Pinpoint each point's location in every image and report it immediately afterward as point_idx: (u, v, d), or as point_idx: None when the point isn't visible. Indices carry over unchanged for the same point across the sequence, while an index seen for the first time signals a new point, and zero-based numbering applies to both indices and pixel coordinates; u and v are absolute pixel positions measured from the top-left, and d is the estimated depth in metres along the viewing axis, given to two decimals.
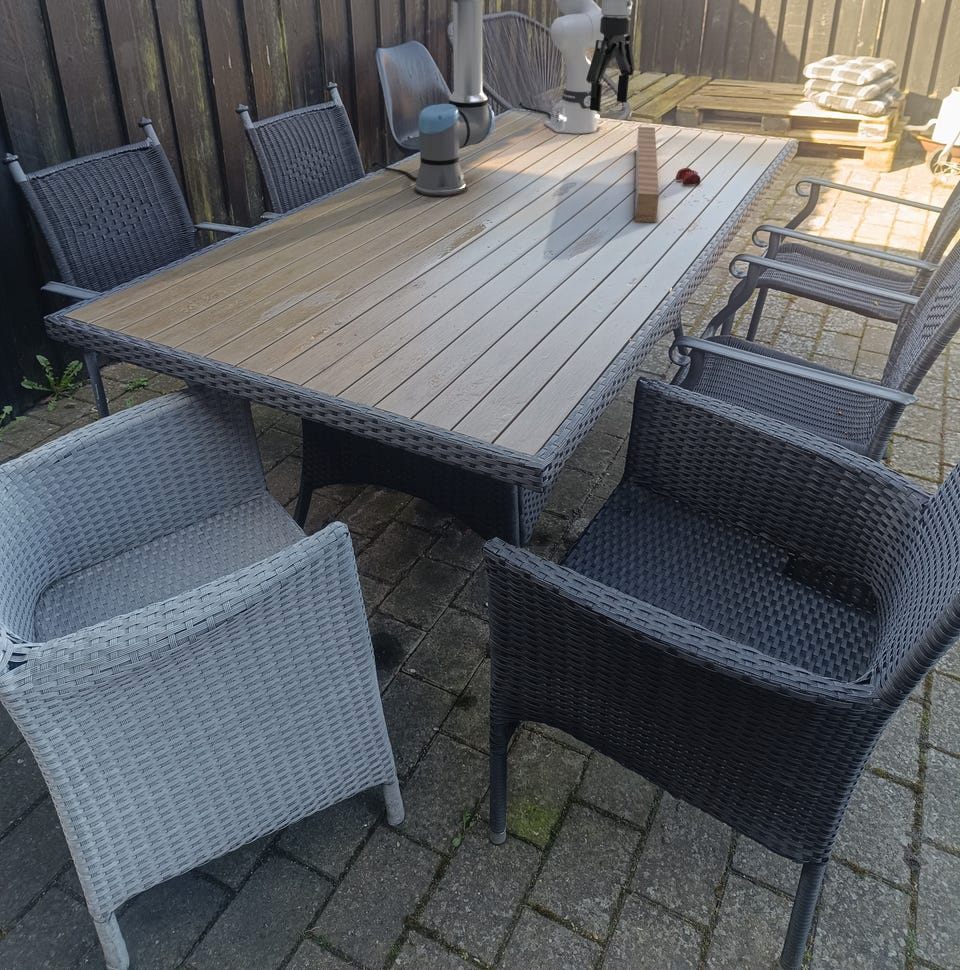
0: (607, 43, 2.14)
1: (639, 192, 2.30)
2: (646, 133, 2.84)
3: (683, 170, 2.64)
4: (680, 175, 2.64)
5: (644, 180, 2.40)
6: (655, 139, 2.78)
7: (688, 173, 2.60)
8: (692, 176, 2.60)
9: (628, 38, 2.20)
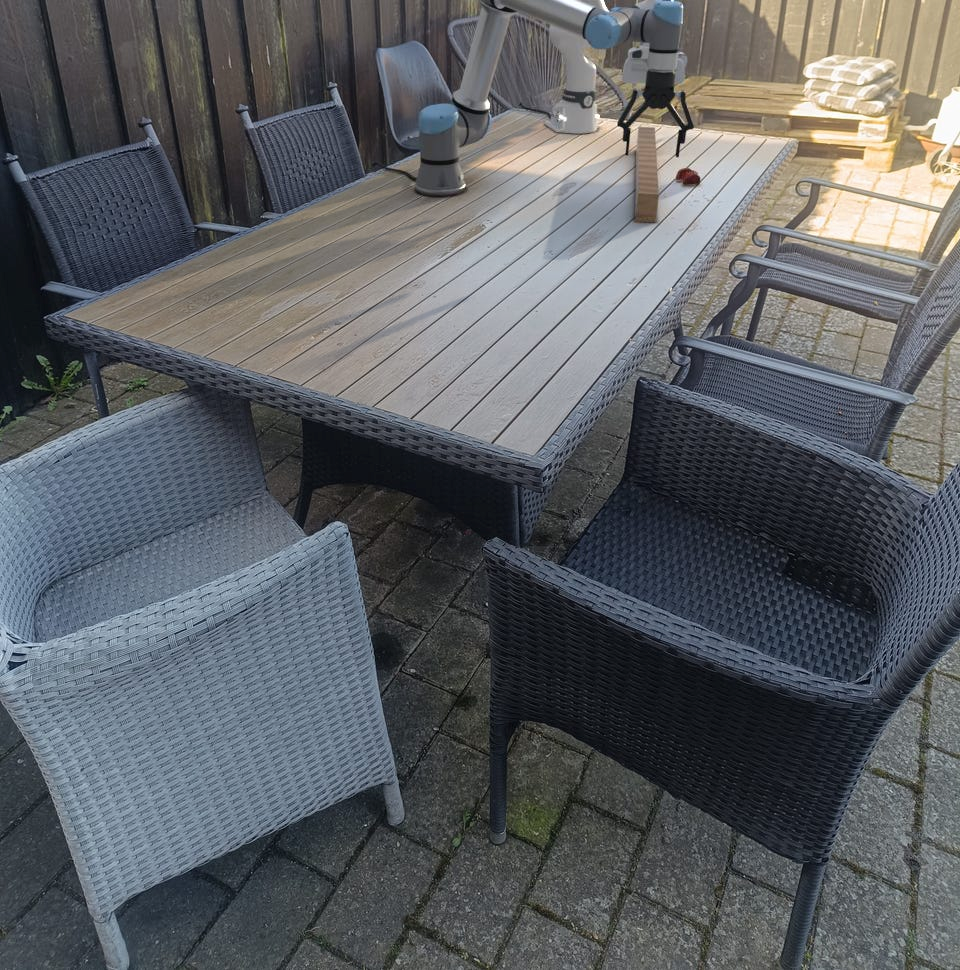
0: None
1: (639, 192, 2.30)
2: (646, 133, 2.84)
3: (683, 170, 2.64)
4: (680, 175, 2.64)
5: (644, 180, 2.40)
6: (655, 139, 2.78)
7: (688, 173, 2.60)
8: (692, 176, 2.60)
9: None
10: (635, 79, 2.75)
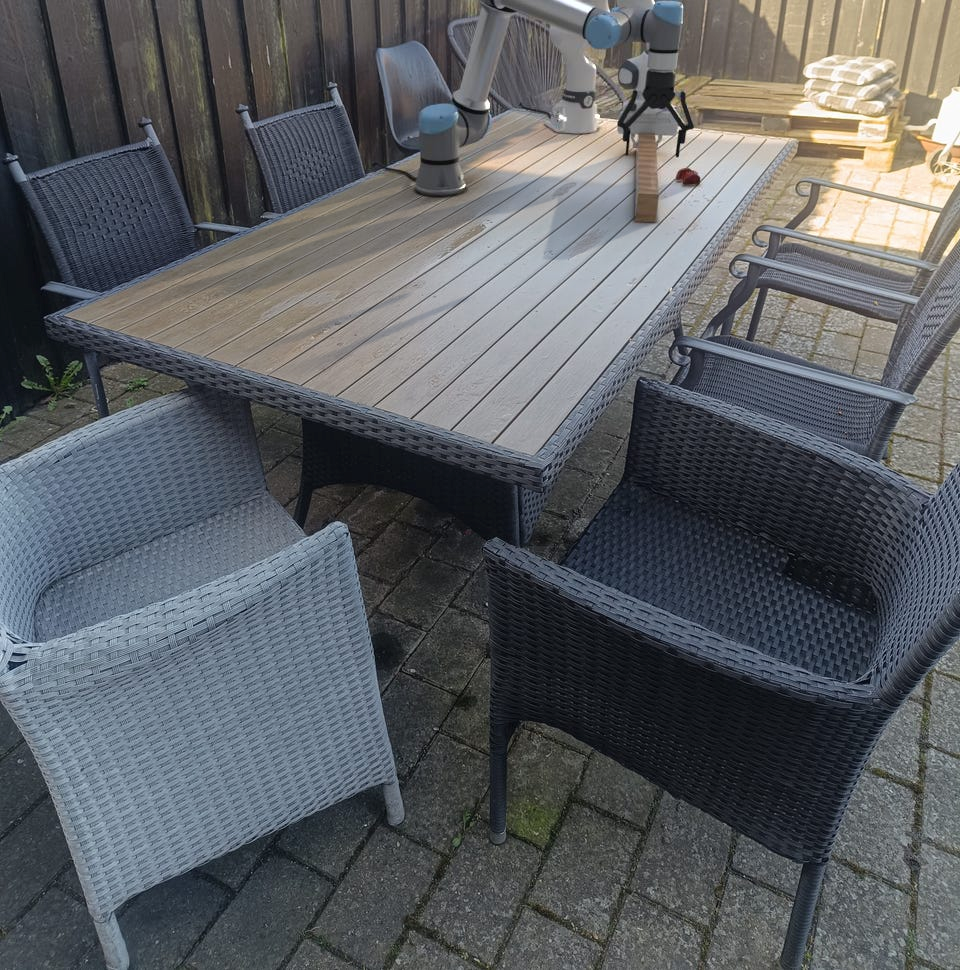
0: None
1: (639, 192, 2.30)
2: None
3: (683, 170, 2.64)
4: (680, 175, 2.64)
5: (644, 180, 2.40)
6: (655, 139, 2.78)
7: (688, 173, 2.60)
8: (692, 176, 2.60)
9: None
10: None
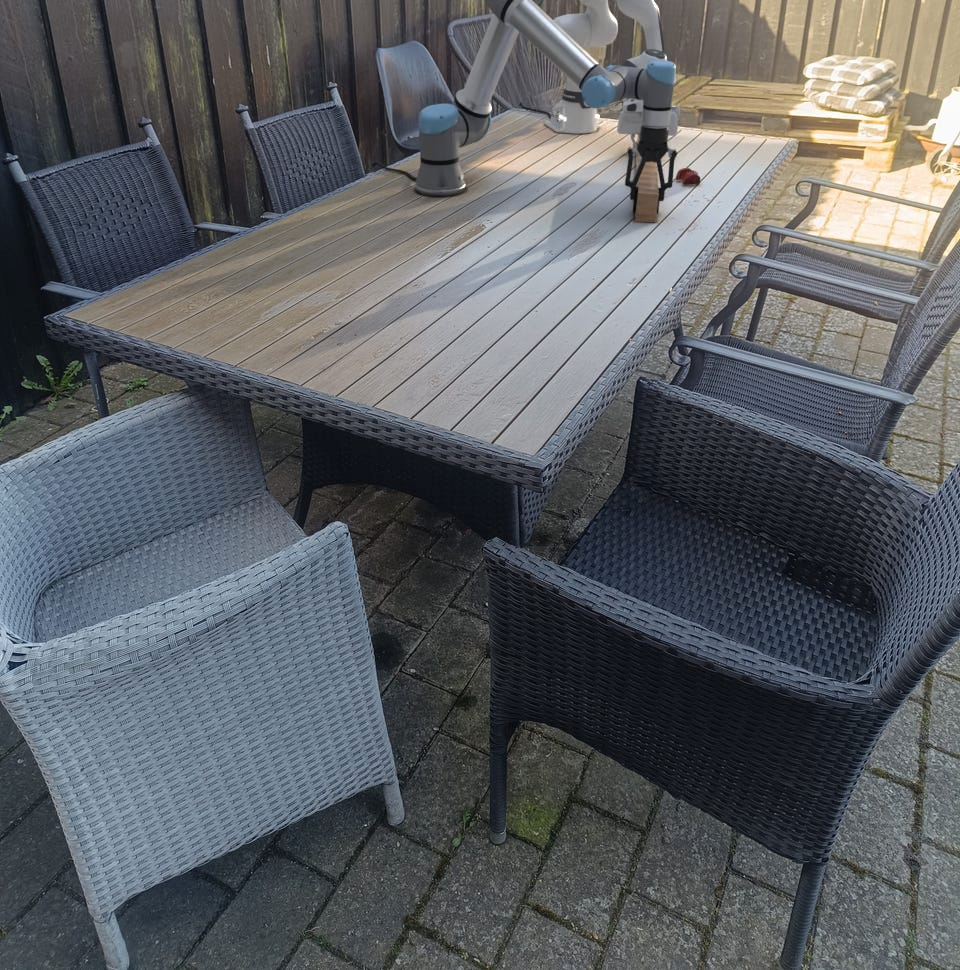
0: None
1: (639, 192, 2.30)
2: None
3: (683, 170, 2.64)
4: (680, 175, 2.64)
5: (644, 180, 2.40)
6: None
7: (688, 173, 2.60)
8: (692, 176, 2.60)
9: None
10: (629, 131, 2.85)
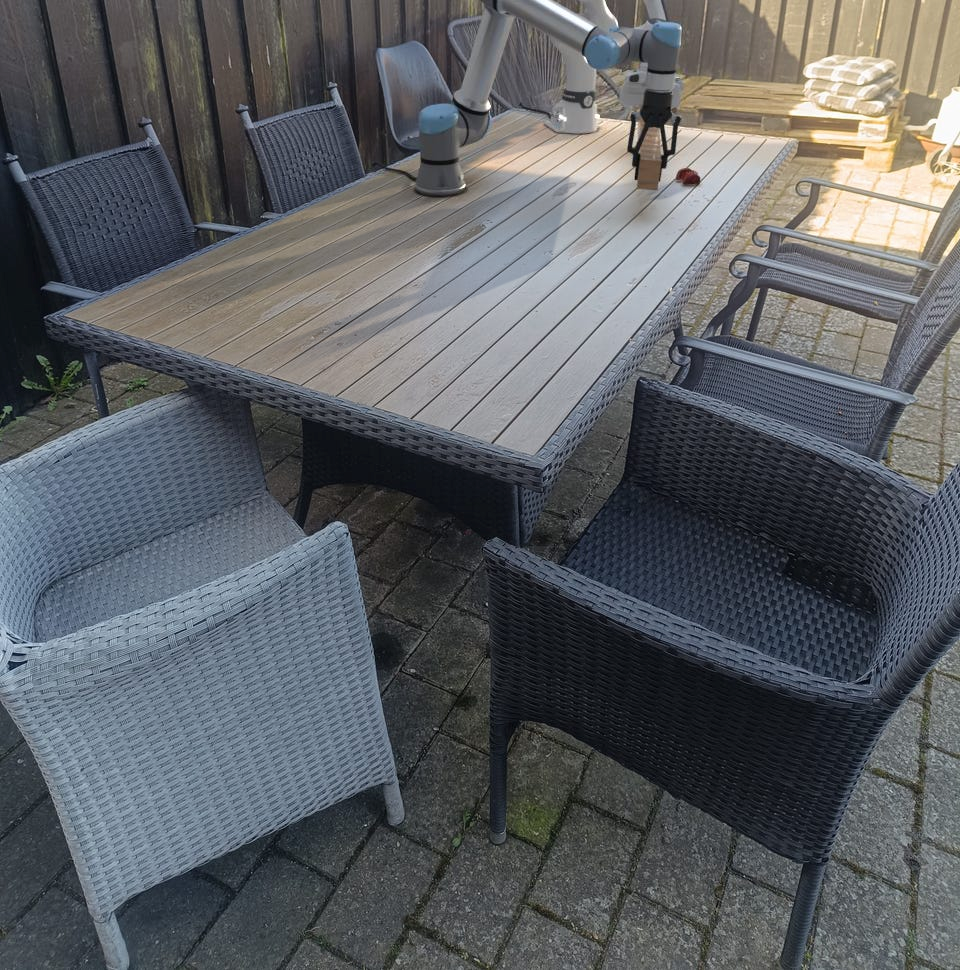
0: None
1: (641, 158, 2.26)
2: None
3: (683, 170, 2.64)
4: (680, 175, 2.64)
5: (646, 147, 2.35)
6: None
7: (688, 173, 2.60)
8: (692, 176, 2.60)
9: None
10: (632, 102, 2.80)
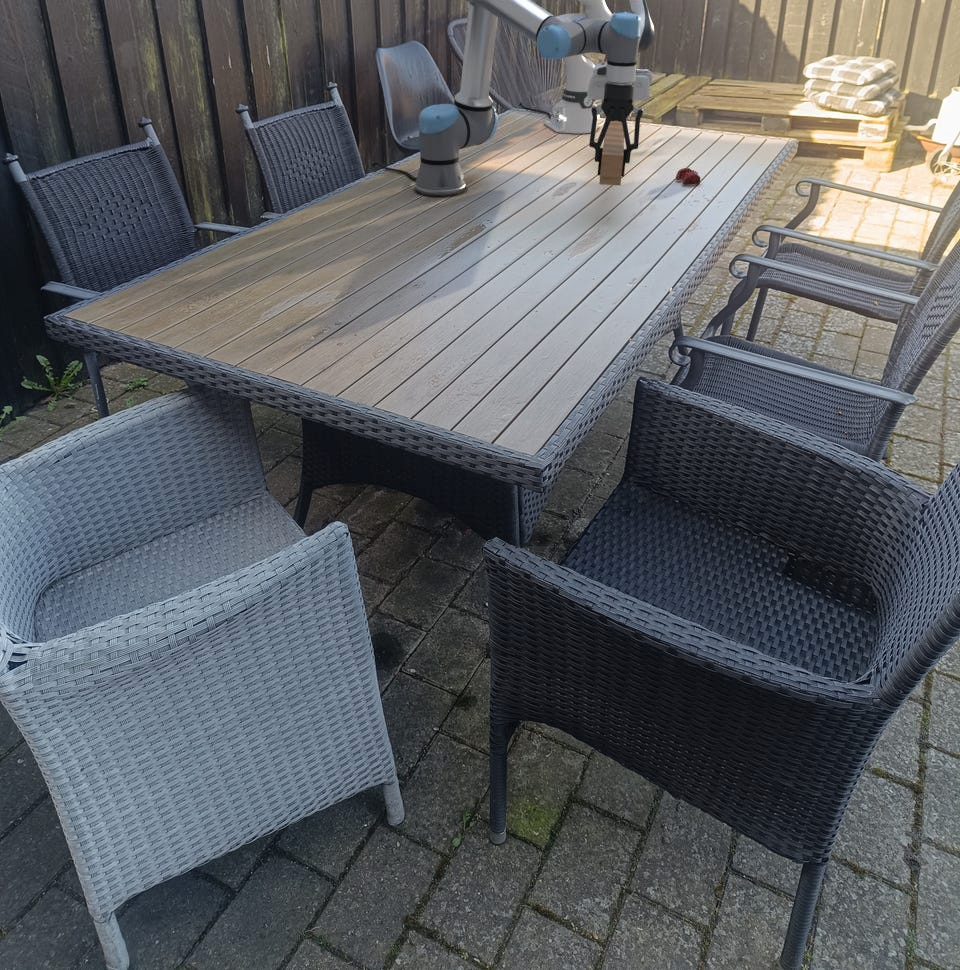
0: None
1: (603, 153, 2.21)
2: None
3: (683, 170, 2.64)
4: (680, 175, 2.64)
5: (609, 141, 2.30)
6: None
7: (688, 173, 2.60)
8: (692, 176, 2.60)
9: None
10: (600, 96, 2.75)
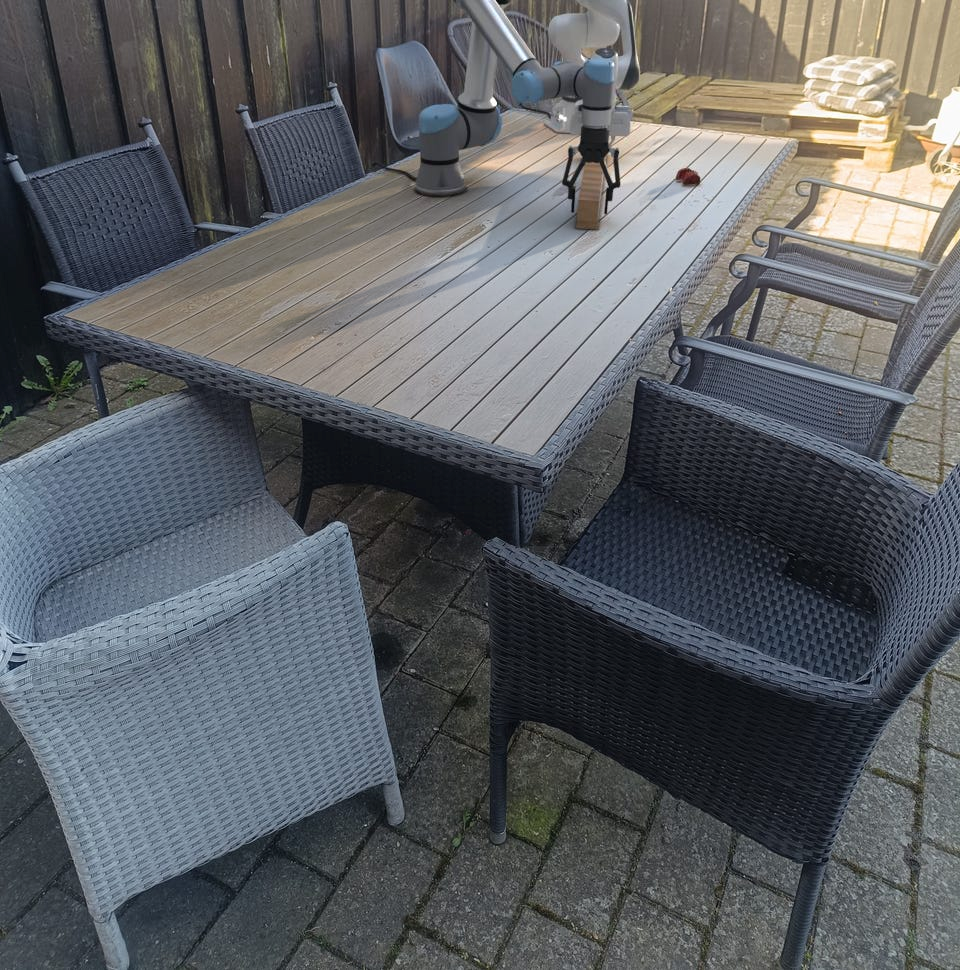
0: None
1: (579, 198, 2.26)
2: None
3: (683, 170, 2.64)
4: (680, 175, 2.64)
5: (587, 186, 2.35)
6: None
7: (688, 173, 2.60)
8: (692, 176, 2.60)
9: None
10: None
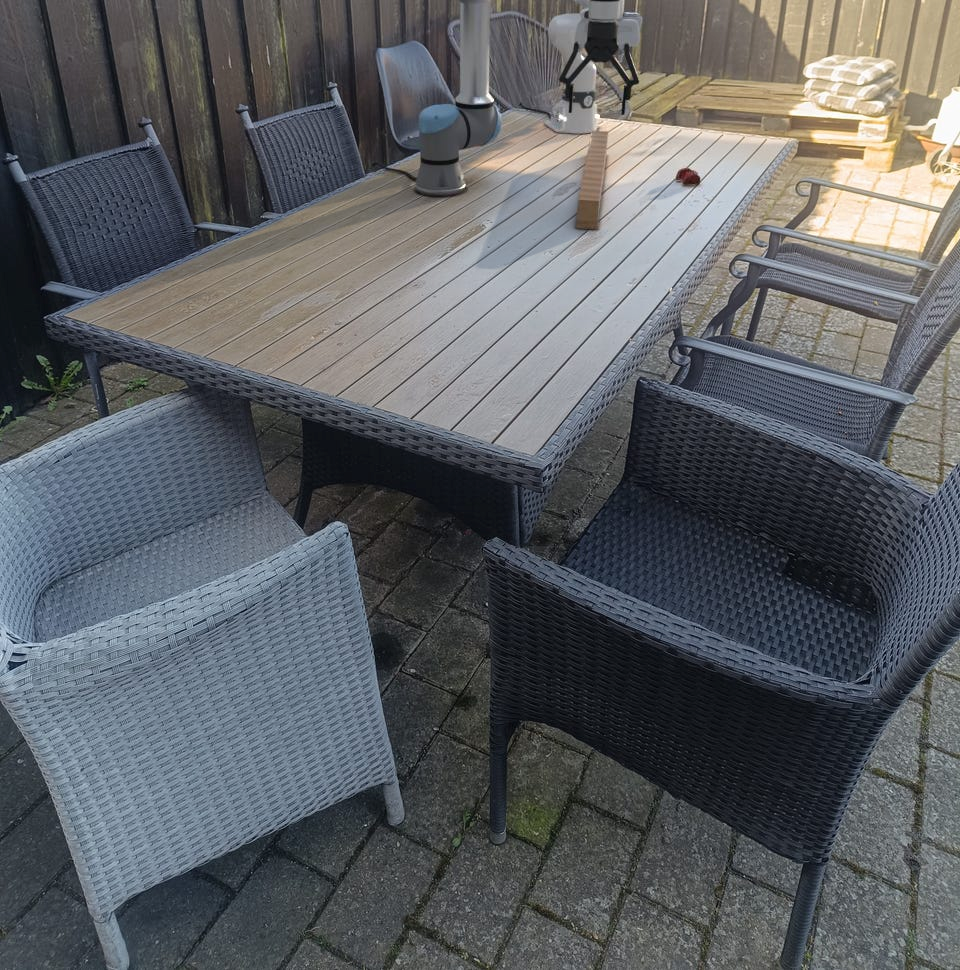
0: None
1: (579, 198, 2.26)
2: (598, 137, 2.80)
3: (683, 170, 2.64)
4: (680, 175, 2.64)
5: (587, 186, 2.35)
6: (606, 143, 2.73)
7: (688, 173, 2.60)
8: (692, 176, 2.60)
9: None
10: None
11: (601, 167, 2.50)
